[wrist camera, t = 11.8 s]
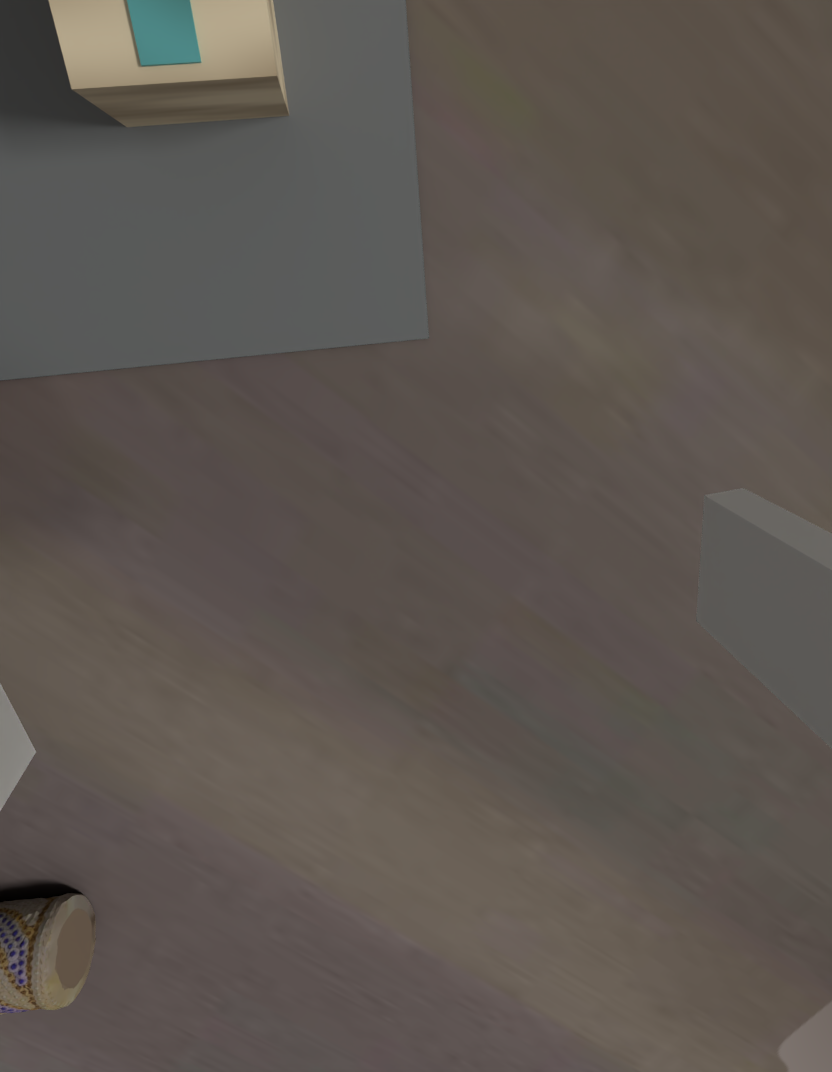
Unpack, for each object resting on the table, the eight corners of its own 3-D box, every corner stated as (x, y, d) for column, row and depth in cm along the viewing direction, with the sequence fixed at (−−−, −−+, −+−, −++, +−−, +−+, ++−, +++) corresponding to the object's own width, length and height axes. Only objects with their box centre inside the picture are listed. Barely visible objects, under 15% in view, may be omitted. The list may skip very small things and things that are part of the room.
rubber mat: (-99, 389, 30) (-103, 390, 29) (-377, -265, 21) (-386, -272, 20) (428, 337, 31) (428, 338, 31) (385, -279, 22) (385, -287, 22)
